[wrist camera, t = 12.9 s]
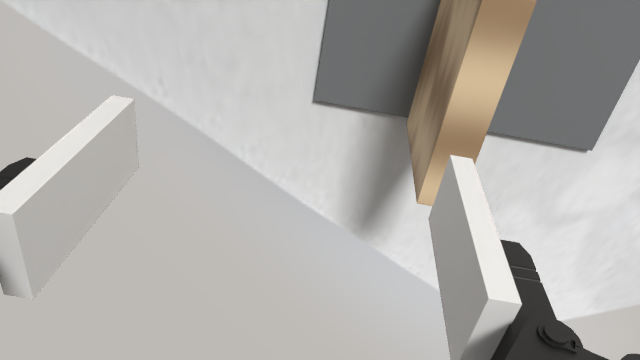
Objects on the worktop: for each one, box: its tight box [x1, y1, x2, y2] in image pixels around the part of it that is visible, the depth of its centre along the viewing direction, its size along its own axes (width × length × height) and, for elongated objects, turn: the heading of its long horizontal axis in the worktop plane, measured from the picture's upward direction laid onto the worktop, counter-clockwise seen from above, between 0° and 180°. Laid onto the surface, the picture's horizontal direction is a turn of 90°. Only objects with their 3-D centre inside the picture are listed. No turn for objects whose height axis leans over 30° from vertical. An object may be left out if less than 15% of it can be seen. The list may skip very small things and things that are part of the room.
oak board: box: [407, 0, 537, 206], centre depth 27 cm, size 11×2×10 cm, turn 171°
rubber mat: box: [314, 0, 640, 150], centre depth 31 cm, size 20×12×1 cm, turn 81°
